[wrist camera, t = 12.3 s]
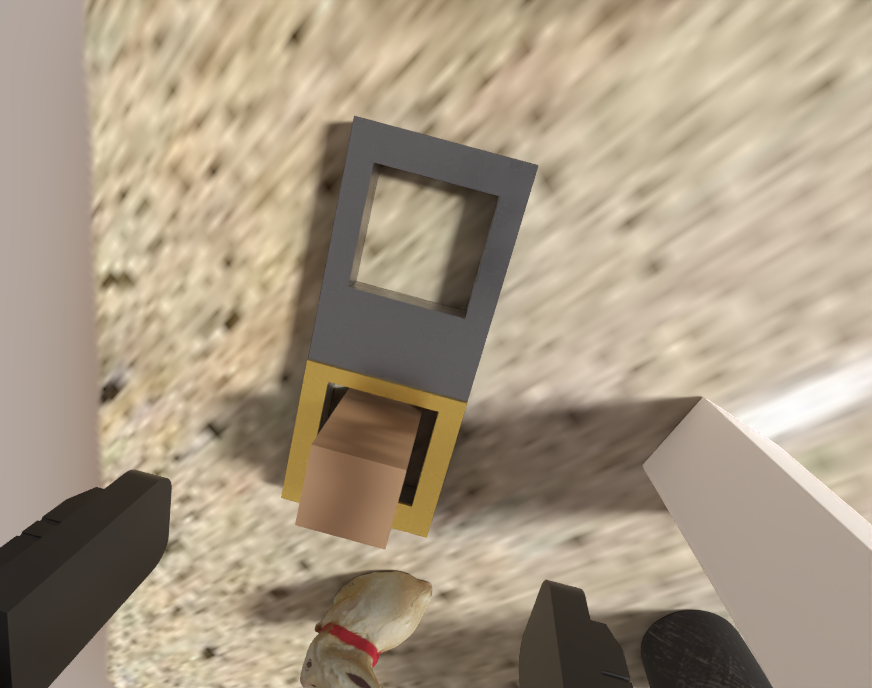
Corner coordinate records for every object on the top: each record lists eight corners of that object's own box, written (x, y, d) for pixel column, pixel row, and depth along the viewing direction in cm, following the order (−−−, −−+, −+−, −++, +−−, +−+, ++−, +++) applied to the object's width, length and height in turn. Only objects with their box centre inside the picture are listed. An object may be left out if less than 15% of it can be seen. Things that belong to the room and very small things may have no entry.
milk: (712, 510, 34) (1097, 1045, 13) (639, 464, 33) (914, 944, 12) (779, 442, 32) (1355, 936, 11) (702, 392, 31) (1155, 811, 10)
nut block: (423, 406, 33) (406, 470, 26) (406, 470, 35) (385, 549, 27) (350, 386, 33) (311, 444, 26) (335, 451, 35) (295, 524, 27)
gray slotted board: (534, 167, 28) (538, 165, 26) (429, 517, 36) (426, 537, 33) (362, 120, 28) (353, 115, 26) (292, 479, 36) (281, 497, 33)
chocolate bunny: (329, 557, 37) (277, 683, 28) (434, 575, 37) (418, 709, 27) (324, 616, 39) (274, 754, 29) (425, 634, 39) (407, 779, 29)
